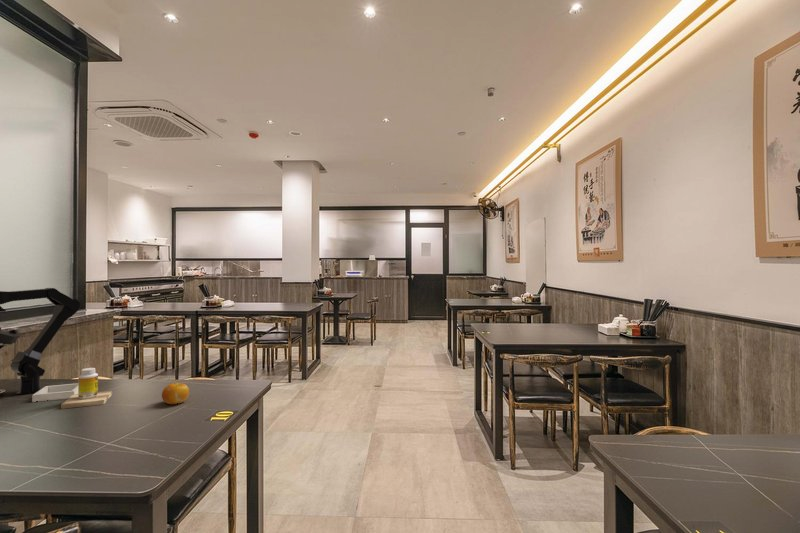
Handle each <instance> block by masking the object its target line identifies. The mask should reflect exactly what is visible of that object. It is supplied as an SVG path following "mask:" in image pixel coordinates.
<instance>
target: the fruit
mask: <svg viewBox="0 0 800 533" xmlns="http://www.w3.org/2000/svg"><path fill="white" fill-rule="evenodd" d="M189 395H190V388H189V387H188V386H187V384H185V383H179V382H173V383H169V384H168V385H166V386H164V388H163V390H162V393H161V398H162V399H161V400H163V402H164V403H165V404H167V405H177V403H178V404H181V403H184V402H185V401H186V400H187V399H188V397H189Z"/></svg>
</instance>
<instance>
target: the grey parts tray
mask: <svg viewBox="0 0 800 533" xmlns="http://www.w3.org/2000/svg"><path fill="white" fill-rule="evenodd" d="M78 384H79V382H78V383H77V382H76V383H66V384H56V385H55V384H54V385H46V386H43V387H44V388H42V389H41V390H39V391H38V392H36V393H32V395H31V397H32V398H31V402H32V403H36V401H38V402H45V401H47V400H48V401H55V400H56V401H57V400H65V399H66V400H67V399H68V398H70V397H71V396H72V395H74V394H78Z"/></svg>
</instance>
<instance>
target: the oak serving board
mask: <svg viewBox="0 0 800 533" xmlns="http://www.w3.org/2000/svg"><path fill="white" fill-rule="evenodd" d="M112 395H113V390H106V391H98V394H97V396H95V397H93V398H89V399H80V398H79V397H78V394H74V395H72V396H71V397H70V398H67V399H66V400H65V401H63V403H61V405H60V409H61V410H65V409H73V408H74V409H75V408H82V407H91V406H92V407H93V406H100V405H105V403H107V402H108V400H109V399H110V397H111V396H112Z"/></svg>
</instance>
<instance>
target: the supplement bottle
mask: <svg viewBox="0 0 800 533" xmlns="http://www.w3.org/2000/svg"><path fill="white" fill-rule="evenodd" d="M78 383H79V384H78V397H79V398H80V399H89V398H93V397H95V396H97V394H98V392H99V391H98V390H99V386H98V385H99V374H98V373H97V372H96V368H95V367H85V368H82V369H81V374H80V375H79V376H78Z"/></svg>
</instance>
